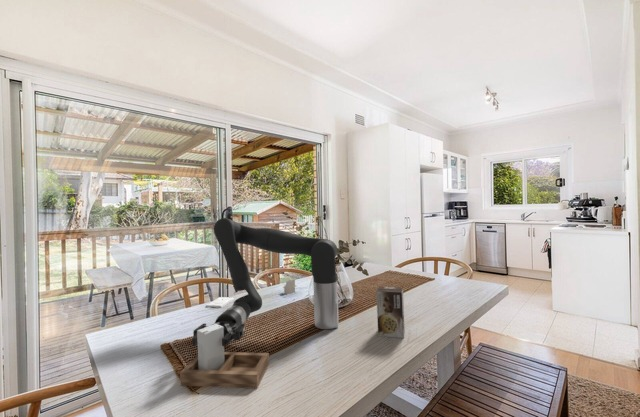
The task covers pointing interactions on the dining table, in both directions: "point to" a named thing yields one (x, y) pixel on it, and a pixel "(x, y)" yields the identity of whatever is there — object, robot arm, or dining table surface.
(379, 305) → the grey brown upright block
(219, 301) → the external hard drive
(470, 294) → the dining table surface
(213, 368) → the skincare box
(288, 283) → the architectural model
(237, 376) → the wooden compartment tray
